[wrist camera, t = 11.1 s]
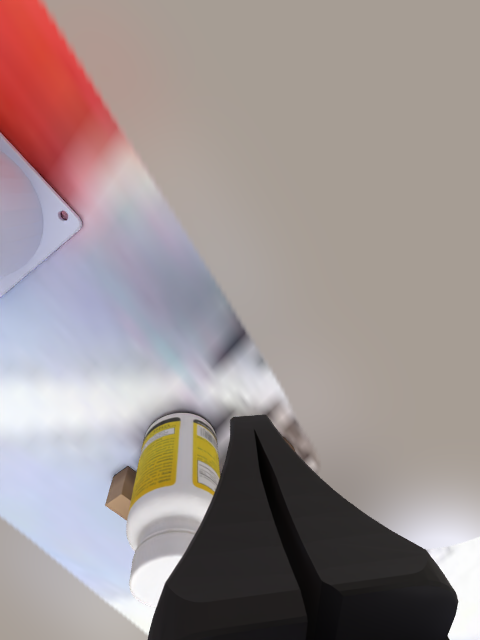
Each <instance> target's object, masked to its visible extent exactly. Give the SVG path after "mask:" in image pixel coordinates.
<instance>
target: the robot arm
mask: <svg viewBox="0 0 480 640" xmlns="http://www.w3.org/2000/svg"><path fill="white" fill-rule="evenodd" d="M62 211H65V212H67V214H68V219H67V220H64V219H62V217H61V212H62ZM81 227H82V222H81V219H80V218H79V216H78V215H77V214H76V213H75V212H74V211H73V210H72V209H71V208H70V207H69V206H68V205H67V204H66V202H65V201H64V200H63V199H62V198H61V197H60V196H59V195H58V194H57V193H56V192H55V191H54V189H53V188H52V187H51V186H50V185H49V184H48V183H47V182H46V181H45V180H44V179H43V178H42V177H41V175H40V174H39V173H38V172H37V171H36V170H35V169H34V168H33V167H32V166H31V165H30V164H29V162H28V161H27V160H26V159H25V158H24V157H23V156H22V155H21V154H20V153H19V152H18V151H17V149H16V148H15V147H14V146H13V145H12V144H11V143H10V142H9V141H8V140H7V139H6V138H5V137H4V135H3V134H2V133H1V132H0V298H1V297H2V296H3V295H4V294H5V293H7V292H8V291H9V290H10V289H11V288H12V287H14V286H15V285H16V284H17V283H18V282H19V281H21V280H22V279H23V278H24V277H25V276H26V275H28V274H29V273H30V272H31V271H32V270H33V269H35V268H36V267H37V266H38V265H39V264H40V263H42V262H43V261H44V260H45V259H46V258H48V257H49V256H50V255H51V254H52V253H53V252H55V251H56V250H57V249H58V248H59V247H60V246H62V245H63V244H64V243H65V242H66V241H67V240H69V239H70V238H71V237H72V236H73V235H74V234H76V233H77V232H78V231H79V230H80V229H81ZM457 605H458V599H457V595H456V592H455V591H454V589H453V588H452V586H451V585H450V583H449V581H448V580H447V578H446V577H445V575H444V574H443V572H442V571H441V569H440V568H439V566H438V565H437V564H436V563H435V561H434V560H433V559H432V558H431V556H430V555H429V553H428V552H427V551H426V550H425V549H423V548H422V547H420V546H418V545H416V544H414V543H413V542H411V541H409V540H407V539H405V538H403V537H402V536H400V535H398V534H396V533H395V532H393V531H391V530H389V529H388V528H386V527H385V526H383V525H382V524H380V523H378V522H377V521H375V520H374V519H372V518H371V517H369V516H368V515H366V514H365V513H363V512H362V511H361V510H359V509H358V508H357V507H355V506H354V505H353V504H351V503H350V502H348V501H347V500H346V499H344V498H343V497H342V496H341V495H339V494H338V493H337V492H336V491H334V490H333V489H332V488H331V487H330V486H329V485H328V484H326V483H325V482H324V481H323V480H322V479H321V478H320V477H319V476H318V475H317V474H316V473H315V472H314V471H313V470H312V469H311V468H310V467H309V466H308V465H307V464H306V463H305V462H304V461H303V460H302V459H301V458H300V457H299V456H298V455H297V453H296V452H295V451H294V450H293V449H292V448H291V446H290V445H289V444H288V443H287V442H286V441H285V439H284V438H283V437H282V435H281V434H280V433H279V432H278V430H277V429H276V428H275V426H274V425H273V424H272V422H271V421H270V419H269V418H268V417H267V416H266V415H254V416H241V417H233V418H232V419H231V420H230V442H229V447H228V451H227V456H226V460H225V463H224V467H223V470H222V473H221V476H220V479H219V482H218V485H217V488H216V490H215V493H214V495H213V498H212V500H211V503H210V505H209V507H208V509H207V511H206V514H205V516H204V518H203V520H202V522H201V524H200V526H199V528H198V530H197V531H196V533H195V535H194V537H193V539H192V540H191V542H190V544H189V546H188V548H187V549H186V551H185V553H184V554H183V556H182V558H181V559H180V561H179V562H178V564H177V565H176V567H175V568H174V570H173V571H172V573H171V575H170V576H169V578H168V579H167V581H166V582H165V584H164V587H163V590H162V593H161V596H160V598H159V601H158V604H157V607H156V610H155V613H154V616H153V620H152V623H151V627H150V631H149V636H148V640H449V638H448V633H449V630H450V628H451V625H452V623H453V620H454V617H455V615H456V610H457Z"/></svg>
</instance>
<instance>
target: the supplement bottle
mask: <svg viewBox="0 0 480 640" xmlns="http://www.w3.org/2000/svg"><path fill="white" fill-rule="evenodd" d="M219 479H220V471H219V458H218V446H217V438H216V434H215V431H214V429H213V428H212V426H211V425H210V424H209V423H208V422H207V421H206V420H205V419H203V418H201V417H199V416H197V415H194V414H189V413H175V414H170V415H167V416H164V417H162V418H160V419H158V420H157V421H156V422H154V423H153V424H152V425H151V426H150V428H149V429H148V431H147V432H146V435H145V437H144V441H143V445H142V450H141V455H140V459H139V463H138V468H137V473H136V478H135V483H134V488H133V493H132V498H131V503H130V508H129V513H128V518H127V525H126V532H127V539H128V541H129V544H130V545H131V547H132V549H133V550H134V551H135V554H134V556H133V560H132V568H131V575H130V582H129V586H130V591H131V593H132V595H133V596H134V597H135V598H136V599H137V600H138V601H140V602H141V603H143V604H145V605H148V606H151V607H157V604H158V601H159V598H160V596H161V593H162V590H163V587H164V584H165V582H166V581H167V579H168V578H169V576H170V575H171V573H172V571H173V570H174V568H175V567H176V565H177V564H178V562H179V561H180V559H181V558H182V556H183V554H184V553H185V551H186V549H187V548H188V546H189V544H190V542H191V540H192V539H193V537H194V535H195V533H196V531H197V530H198V528H199V526H200V524H201V522H202V520H203V518H204V516H205V514H206V511H207V509H208V507H209V505H210V503H211V500H212V498H213V495H214V493H215V490H216V488H217V485H218V482H219Z"/></svg>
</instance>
